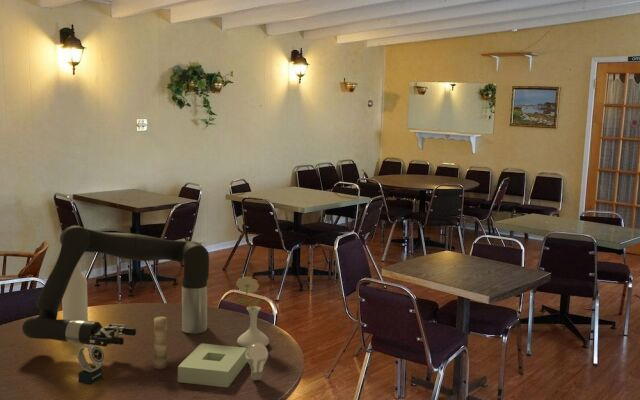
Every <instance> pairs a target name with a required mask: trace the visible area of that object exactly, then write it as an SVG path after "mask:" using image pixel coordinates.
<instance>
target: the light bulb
mask: <svg viewBox="0 0 640 400" xmlns="http://www.w3.org/2000/svg"><path fill="white" fill-rule="evenodd" d="M268 358H269V351H268V348H267V346H264V345H263V344H261V343H254V344H251V345H250V346H249V347H248V348H247V350H246V360H247V363H248V364H249V368H250V373H251V374H250V378H251V379H252V380H253V381H255V382H258V381H260V380H261V379H262V377H263V369H264V365H265V364H266V362H267V360H268Z"/></svg>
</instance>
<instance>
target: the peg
mask: <svg viewBox="0 0 640 400" xmlns="http://www.w3.org/2000/svg"><path fill="white" fill-rule="evenodd" d="M167 322H168V318H167V316H156V317H155V318H153V340H154V341H153V344H154V345H153V347H154V348H153V353H154V355H153V359H154V360H153V361H154V362H153V363H154V369H157V370H158V369H159V370H160V369H161V370H162V369H166V368H167V367H168V323H167Z"/></svg>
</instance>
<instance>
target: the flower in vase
mask: <svg viewBox="0 0 640 400" xmlns="http://www.w3.org/2000/svg"><path fill="white" fill-rule="evenodd" d="M235 285H236V287H237V289H239V290H240V291H242V292H245V298H243V297H239V298H238V299H236V301H235V302H236V303H240V304H246V303H248V304H249V306H247V307H246V310H247V312H248V314H249V320H250V321H249V323H250V324H249V328H248V329H247V330H246V331H244V332H243V333H242V334H240V335H239V336H238V338H237V340H236V344H238V347H243V348H248V347H249V346H250V345H251V344H254V343H261V344H263V345H264V346H265V347H267V346H268V345H269V343H270V339H269V337H268V336H267V335H266V334H265V333H264V332H262V331H261V330H260V329H258V325H257V323H258V322H257V321H258V315H259V312H260V311H261V309H262V308H261V307H260V306H258V305H257V304H258V303H259V302H260V301H261V299H262V298H259V299H256V300H253V301H252V302H251V303H250V302H249V300H248V293H249V294H250V293H254V292H258V289H259V288H260V285H259V283H258V281H257V280H256V279H255V278H253V277H252V276H248V275H247V276H242V277H239V278H238V279H237V281H236V283H235ZM254 305H255V306H254Z"/></svg>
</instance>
